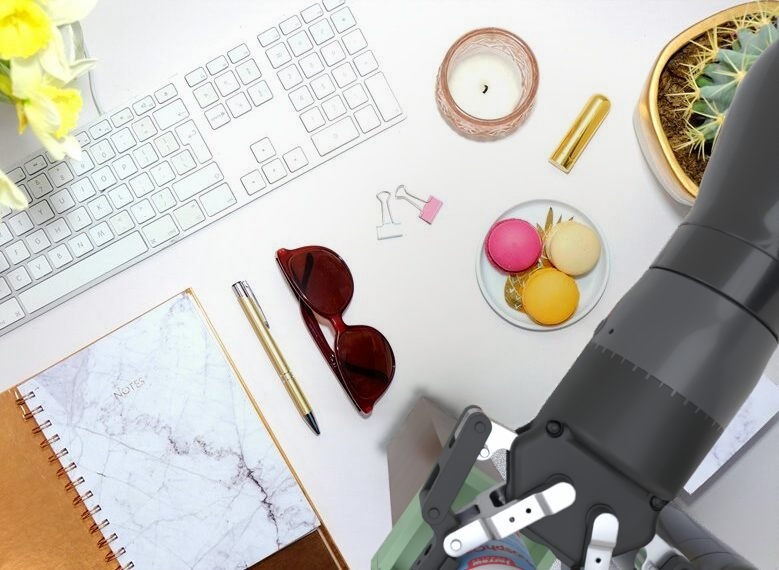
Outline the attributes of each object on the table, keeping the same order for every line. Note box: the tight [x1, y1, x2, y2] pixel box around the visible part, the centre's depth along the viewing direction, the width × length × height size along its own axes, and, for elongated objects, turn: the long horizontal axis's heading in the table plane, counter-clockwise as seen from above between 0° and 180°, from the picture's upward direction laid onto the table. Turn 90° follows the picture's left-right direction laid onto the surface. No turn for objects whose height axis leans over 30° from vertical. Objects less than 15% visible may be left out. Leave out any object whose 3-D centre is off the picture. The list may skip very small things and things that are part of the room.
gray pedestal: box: [386, 396, 505, 530], centre depth 58 cm, size 7×7×28 cm
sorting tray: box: [370, 466, 558, 570], centre depth 43 cm, size 9×9×3 cm
